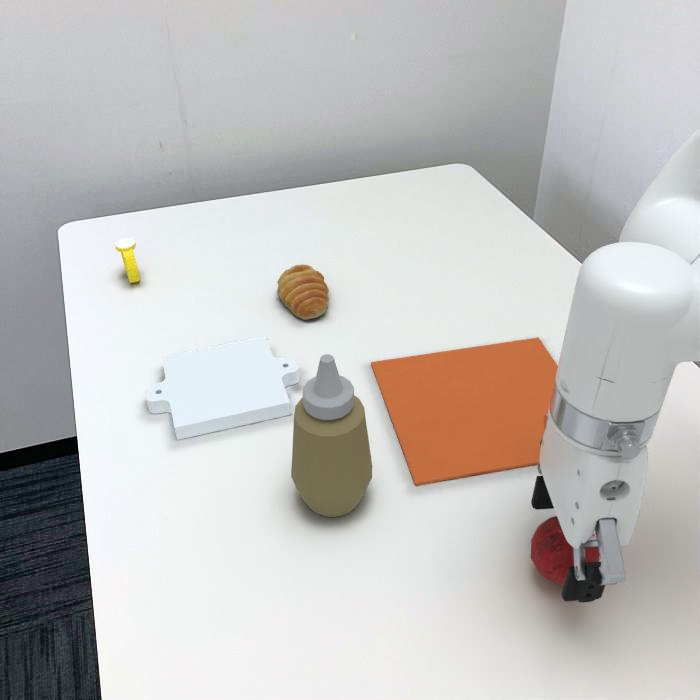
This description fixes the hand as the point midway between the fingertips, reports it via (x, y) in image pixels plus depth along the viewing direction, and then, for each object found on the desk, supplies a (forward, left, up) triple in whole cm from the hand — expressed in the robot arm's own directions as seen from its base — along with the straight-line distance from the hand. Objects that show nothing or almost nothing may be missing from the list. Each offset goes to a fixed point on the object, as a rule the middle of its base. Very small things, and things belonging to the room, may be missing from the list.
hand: (563, 548), depth 65 cm
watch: (+47, -54, -4) cm, 72 cm away
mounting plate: (+32, -28, -4) cm, 43 cm away
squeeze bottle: (+20, -11, -4) cm, 23 cm away
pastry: (+22, -46, -4) cm, 51 cm away
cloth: (+2, -23, -4) cm, 24 cm away
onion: (0, 0, -4) cm, 4 cm away
